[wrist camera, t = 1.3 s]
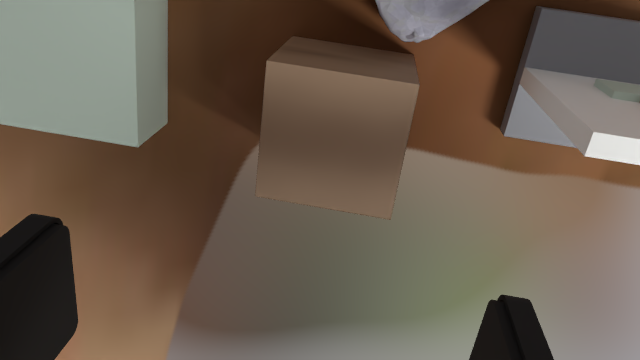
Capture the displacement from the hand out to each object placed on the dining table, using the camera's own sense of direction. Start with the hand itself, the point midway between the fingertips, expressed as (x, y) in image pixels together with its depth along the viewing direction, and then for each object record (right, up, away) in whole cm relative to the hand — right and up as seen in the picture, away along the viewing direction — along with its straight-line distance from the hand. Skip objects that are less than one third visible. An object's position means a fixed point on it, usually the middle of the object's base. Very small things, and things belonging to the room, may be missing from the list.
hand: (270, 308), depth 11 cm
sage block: (-11, +10, +16) cm, 22 cm away
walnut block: (+2, +7, +15) cm, 17 cm away
